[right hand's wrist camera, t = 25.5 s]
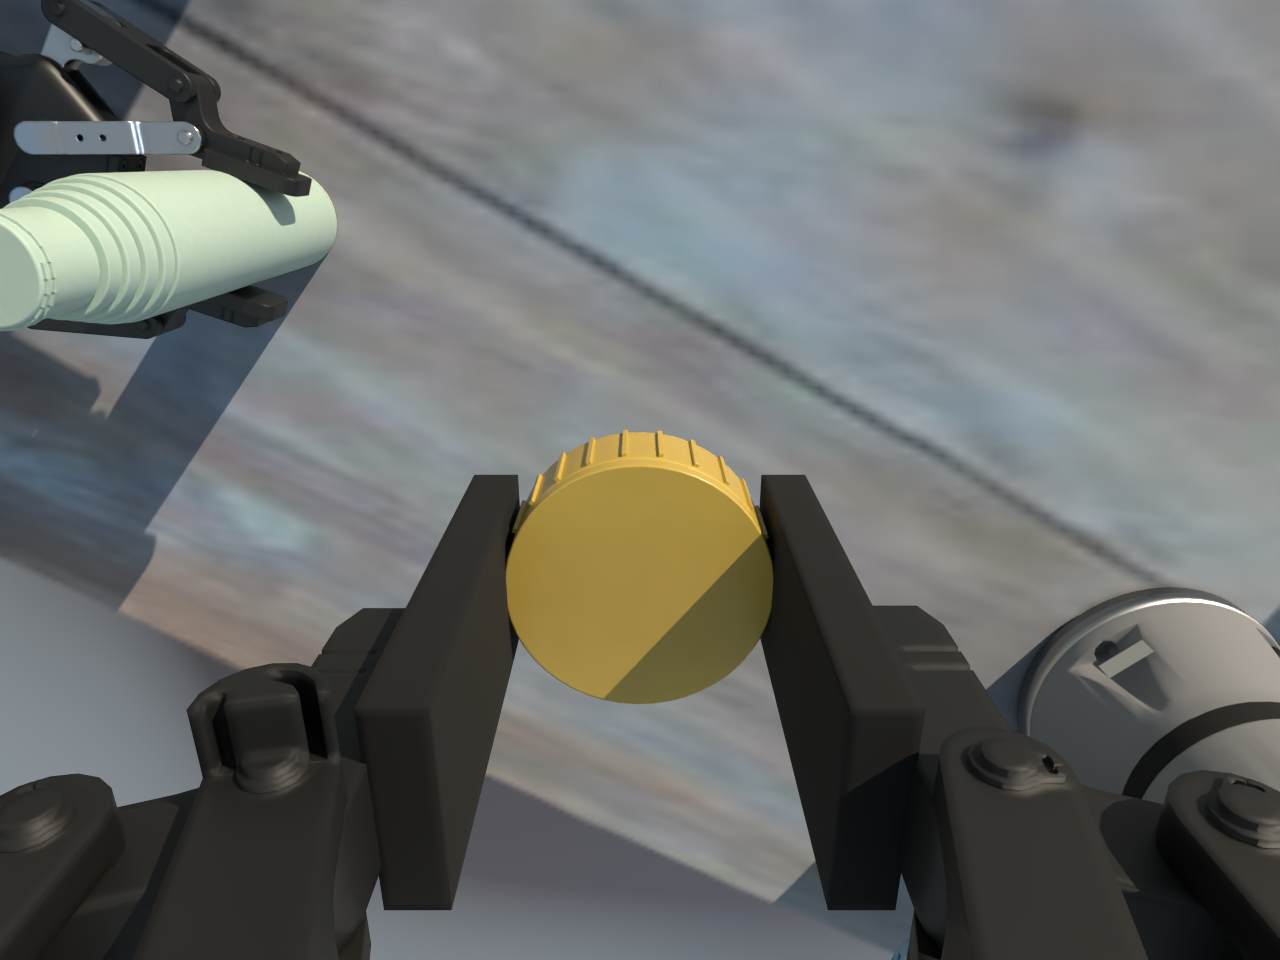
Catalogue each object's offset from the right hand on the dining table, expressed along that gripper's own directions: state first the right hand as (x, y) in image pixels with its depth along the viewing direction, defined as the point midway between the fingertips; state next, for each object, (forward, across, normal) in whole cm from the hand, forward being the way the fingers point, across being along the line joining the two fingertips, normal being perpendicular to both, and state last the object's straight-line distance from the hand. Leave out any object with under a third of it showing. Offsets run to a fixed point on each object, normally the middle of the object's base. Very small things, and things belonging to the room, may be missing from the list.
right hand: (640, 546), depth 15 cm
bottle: (+30, +18, -4) cm, 35 cm away
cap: (-1, 0, 0) cm, 1 cm away
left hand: (+24, +15, -3) cm, 28 cm away
